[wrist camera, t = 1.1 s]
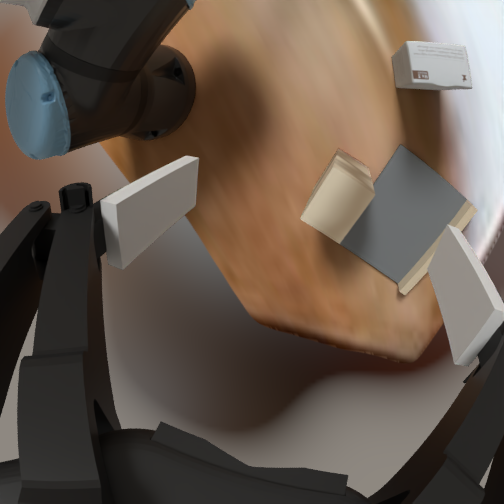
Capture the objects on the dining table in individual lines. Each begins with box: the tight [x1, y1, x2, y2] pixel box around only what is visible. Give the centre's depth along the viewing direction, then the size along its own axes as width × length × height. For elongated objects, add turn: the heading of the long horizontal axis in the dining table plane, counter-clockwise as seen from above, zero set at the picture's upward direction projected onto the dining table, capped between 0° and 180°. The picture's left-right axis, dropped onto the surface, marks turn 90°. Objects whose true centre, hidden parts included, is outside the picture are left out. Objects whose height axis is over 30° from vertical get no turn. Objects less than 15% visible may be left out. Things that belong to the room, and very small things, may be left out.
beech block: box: [300, 148, 375, 244], centre depth 32 cm, size 4×6×12 cm
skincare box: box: [392, 41, 472, 90], centre depth 22 cm, size 6×4×12 cm
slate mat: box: [340, 144, 477, 295], centre depth 35 cm, size 13×16×3 cm
